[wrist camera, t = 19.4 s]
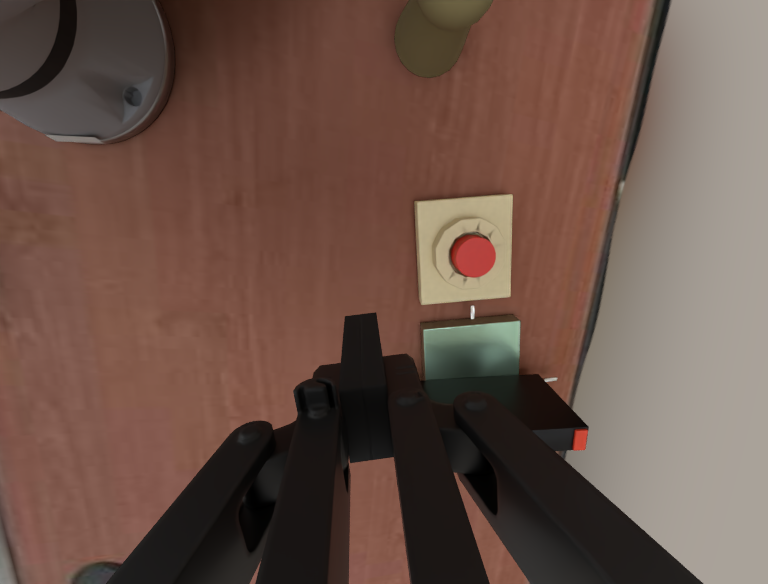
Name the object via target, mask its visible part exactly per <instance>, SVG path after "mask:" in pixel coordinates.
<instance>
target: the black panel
mask: <svg viewBox="0 0 768 584" xmlns="http://www.w3.org/2000/svg"><path fill="white" fill-rule="evenodd" d="M420 382H421V385H422V388H423V391H425V392H426V394H427V395H428V397H429V399H431V400H433V401H436V402H439V403H446V404H453V402H454V399H455V398H456V397H457V395H459V394H461V393H463V392H468V391H481V392H484V393H488V394H490V395H491V396H493V397H494V398H495V399H497V400H498V401H499V402H500V403H501V404H502V405H503V406H504V407H506V408H507V409H508V410H509V411H510V412H511V413H512V414H513V415H515V416H516V417H517V418H518V419H519V420H520V421H521V422H522V423H524V424H525V425H526V426H527V427H528V428H529V429H530V430H531V431H533V432H534V433H535V434H536V435H537V436H538V437H539V438H540V439H541V440H543V441H544V442H545V443H546V444H547V445H548V446H549V447H550V448H552V449H553V450H554V451H565V450H585V449H586V442H587V435H588V426H587V425H586V424H585V423H584V422H583V421H582V420H581V418H580V417H579V416H578V415H577V414H576V413H575V412H574V411H573V410H572V409H571V408H570V407H569V406H568V405H567V404H566V403H565V402H564V401H563V400H562V399H561V398H560V397H559V395H558V394H557V393H556V392H555V391H554V390H553V389H552V388H551V387H550V386H549V385H548V384H547V383H546V382H545V381H544V380H543V379H542V378H541V377H540V376H539V375H538V374H533V375H515V376H497V377H479V378H462V379H444V380H426V381H420Z"/></svg>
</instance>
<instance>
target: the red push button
mask: <svg viewBox="0 0 768 584" xmlns="http://www.w3.org/2000/svg"><path fill="white" fill-rule="evenodd" d="M451 260H452V263H453V265H454V266H455V268H456V269H458V270H459V271H460V272H461V273H462V274H464V275H466V276H468V277H473V278H474V277H480V276H483V275H485V274H486V273H488V272H489V271H490V270H491V269H492V267H493V265H494V263H495V260H496V252H495V248H494V246H493V245H492V243H491V242H490V241H488V240H487V239H485V238H482V237H480V236H477V235H466V236H463V237H461V238H460V239H459V240H457V241H456V243H455V244H454V246H453V248H452V251H451Z"/></svg>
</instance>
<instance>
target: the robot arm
mask: <svg viewBox="0 0 768 584" xmlns="http://www.w3.org/2000/svg"><path fill="white" fill-rule="evenodd" d="M174 72H175V52H174V44H173V38H172V34H171V30H170V27H169V24H168V21H167V18H166V16H165V13H164V11H163V8H162V6H161V5H160V3H159V1H158V0H0V110H1V111H3V112H5V113H7V114H8V115H10V116H12V117H14V118H15V119H16V120H18V121H20V122H21V123H23V124H25V125H27V126H29V127H31V128H33V129H35V130H37V131H39V132H42V133H44V134H46V136H47V137H49V138H51V139H53V140H55V141H64V142H78V143H85V144H111V143H116V142H120V141H123V140H126V139H129V138H131V137H133V136H135V135H137V134H139V133H140V132H142V131H143V130H144V129H146V128H147V127H148V126H149V125H150V124H151V123H152V122H153V121H154V120H155V119H156V118H157V117H158V115H159V114H160V113H161V111H162V109H163V108H164V106H165V104H166V102H167V100H168V97H169V95H170V92H171V89H172V84H173V80H174ZM293 392H294V397H295V402H296V407H297V412H298V416H297V420H296V421H294V422H293V423H291V424H289V425H286V426H284V427H281V428H278V429H275V430H273V428H272V425H271V424H270V423H269V422H266V421H253V422H249V423H246V424H244V425H242V426H240V427H238V428H237V429H235V430H234V431H233V432H232V433H231V434H230V435H229V436H228V437H227V439H226V440H225V441H224V442H223V443H222V445H221V446H220V447H219V448H218V449H217V451H216V452H215V453H214V454H213V455H212V457H211V458H210V459H209V460H208V461H207V463H206V464H205V465H204V466H203V467H202V469H201V470H200V471H199V472H198V473H197V475H196V476H195V477H194V478H193V480H192V481H191V482H190V483H189V484H188V486H187V487H186V488H185V489H184V490H183V492H182V493H181V494H180V495H179V496H178V498H177V499H176V500H175V501H174V502H173V504H172V505H171V506H170V507H169V508H168V510H167V511H166V512H165V513H164V514H163V516H162V517H161V518H160V519H159V520H158V522H157V523H156V524H155V525H154V526H153V528H152V529H151V530H150V531H149V532H148V534H147V535H146V536H145V537H144V538H143V540H142V541H141V542H140V543H139V544H138V546H137V547H136V548H135V549H134V550H133V552H132V553H131V554H130V555H129V557H128V558H127V559H126V560H125V561H124V563H123V564H122V565H121V566H120V567H119V569H118V570H117V571H116V572H115V573H114V575H113V576H112V577H111V578H110V579H109V581H108V582H107V583H106V584H249V583H250V581H251V579H252V577H253V575H254V573H255V571H256V569H257V567H258V565H259V563H260V561H261V564H260V568H259V572H258V576H257V580H256V584H349V532H350V477H351V475H350V469H349V463H348V460H349V459H350V463H354V462H361V461H368V460H375V459H382V458H390V457H394V461H395V469H396V477H397V486H398V492H399V500H400V507H401V515H402V523H403V531H404V538H405V546H406V554H407V561H408V569H409V577H410V584H490V583H489V580H488V577H487V574H486V571H485V568H484V565H483V562H482V559H481V556H480V553H479V550H478V547H477V544H476V540H475V537H474V534H473V531H472V528H471V525H470V522H469V519H468V516H467V513H466V510H465V507H464V504H463V501H462V498H461V495H460V492H459V488H458V485H457V482H456V479H455V476H454V473H453V472H455V473H457V474H458V477H459V479H460V481H461V482H462V484H463V485H464V487H465V488H466V490H467V491H468V493H469V494H470V495H471V497H472V498H473V500H474V501H475V503H476V504H477V506H478V507H479V509H480V510H481V512H482V513H483V515H484V516H485V517H486V519H487V520H488V522H489V523H490V525H491V526H492V528H493V529H494V531H495V532H496V534H497V535H498V537H499V538H500V540H501V541H502V542H503V544H504V545H505V547H506V548H507V550H508V551H509V553H510V554H511V556H512V557H513V559H514V560H515V562H516V563H517V564H518V566H519V567H520V569H521V570H522V572H523V573H524V575H525V576H526V578H527V579H528V581H529V582H530V584H703V583H702V582H701V581H700V580H699V579H697V578H696V577H695V576H694V575H693V574H692V573H691V572H690V571H689V570H687V569H686V568H685V567H684V566H683V565H682V564H681V563H679V562H678V561H677V560H676V559H675V558H674V557H673V556H672V555H671V554H669V553H668V552H667V551H666V550H665V549H664V548H663V547H662V546H660V545H659V544H658V543H657V542H656V541H655V540H654V539H653V538H651V537H650V536H649V535H648V534H647V533H646V532H645V531H644V530H642V529H641V528H640V527H639V526H638V525H637V524H636V523H635V522H634V521H632V520H631V519H630V518H629V517H628V516H627V515H626V514H624V513H623V512H622V511H621V510H620V509H619V508H618V507H617V506H616V505H614V504H613V503H612V502H611V501H610V500H609V499H608V498H607V497H605V496H604V495H603V494H602V493H601V492H600V491H599V490H598V489H596V488H595V487H594V486H593V485H592V484H591V483H590V482H589V481H587V480H586V479H585V478H584V477H583V476H582V475H581V474H580V473H579V472H577V471H576V470H575V469H574V468H573V467H572V466H571V465H570V464H568V463H567V462H566V461H565V460H564V459H563V458H562V457H561V456H559V455H558V454H557V453H556V452H555V451H554V450H553V449H552V448H550V447H549V446H548V445H547V444H546V443H545V442H544V441H543V440H541V439H540V438H539V437H538V436H537V435H536V434H535V433H534V432H533V431H531V430H530V429H529V428H528V427H527V426H526V425H525V424H524V423H522V422H521V421H520V420H519V419H518V418H517V417H516V416H515V415H513V414H512V413H511V412H510V411H509V410H508V409H507V408H506V407H504V406H503V405H502V404H501V403H500V402H499V401H498V400H497V399H495V398H494V397H493V396H491V395H490V394H488V393H484V392H481V391H468V392H463V393H461V394H459V395H457V397H456V398H455V399H454V402H453V404H446V403H439V402H436V401H433V400H431V399H429V397H428V395H427V394H426V392H425V391H423V388H422V385H421V382H420V379H419V376H418V373H417V369H416V367H415V363H414V360H413V358H411V357H410V356H409V355H407V354H399V355H391V356H384V357H382V350H381V343H380V336H379V329H378V322H377V315H376V313H368V314H360V315H352V316H345V322H344V334H343V345H342V356H341V363H337V364H329V365H321V366H319V368H318V369H317V370H316V371H315V372H314V374H313V378H312V379H308V380H306V381H304V382H302V383H300V384H299V385H298V386H296V388H295V389H294V391H293ZM261 559H262V560H261Z"/></svg>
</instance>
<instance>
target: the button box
mask: <svg viewBox="0 0 768 584" xmlns="http://www.w3.org/2000/svg"><path fill="white" fill-rule="evenodd" d="M512 203H513V194H499V195H486V196H474V197H461V198H448V199H435V200H422V201H414V207H415V227H416V248H417V268H418V288H419V301H420V302H421V304H422V305H426V304H437V303H449V302H460V301H471V300H482V299H493V298H504V297H510V290H511V247H512ZM466 235H477V236H480V237H482V238H485V239H487V240H488V241H490V242H491V243H492V245H493V246H494V248H495V252H496V260H495V263H494V265H493V267H492V269H491V270H490V271H489V272H488V273H486V274H485V275H483V276H480V277H474V278H473V277H468V276H466V275H464V274H462V273H461V272H460V271H459V270H458V269H456V268H455V266H454V265H453V263H452V260H451V251H452V248H453V246H454V244H455V243H456V241H457V240H459V239H460V238H461V237H463V236H466Z"/></svg>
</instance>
